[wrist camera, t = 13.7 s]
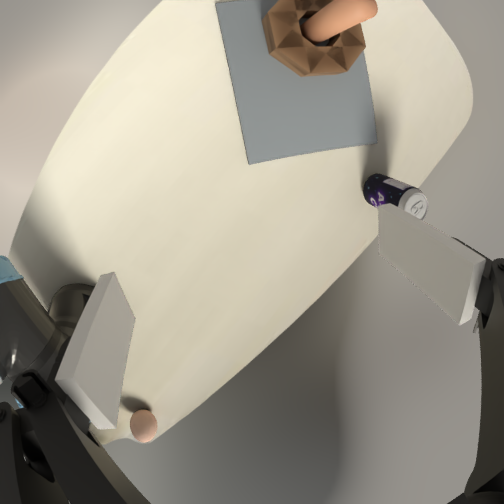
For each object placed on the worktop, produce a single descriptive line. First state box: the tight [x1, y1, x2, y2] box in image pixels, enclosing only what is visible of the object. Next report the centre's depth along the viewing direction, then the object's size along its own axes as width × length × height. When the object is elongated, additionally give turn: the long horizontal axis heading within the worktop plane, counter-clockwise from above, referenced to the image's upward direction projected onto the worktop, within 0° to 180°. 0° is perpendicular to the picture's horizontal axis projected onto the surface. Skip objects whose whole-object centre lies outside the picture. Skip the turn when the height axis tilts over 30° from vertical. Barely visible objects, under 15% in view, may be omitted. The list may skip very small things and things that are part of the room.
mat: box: [215, 0, 377, 165], centre depth 38 cm, size 22×26×1 cm
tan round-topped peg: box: [300, 0, 378, 45], centre depth 28 cm, size 4×4×16 cm
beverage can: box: [363, 174, 428, 220], centre depth 43 cm, size 6×6×12 cm
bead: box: [262, 0, 366, 77], centre depth 33 cm, size 14×14×4 cm
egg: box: [130, 409, 157, 442], centre depth 58 cm, size 7×7×9 cm
